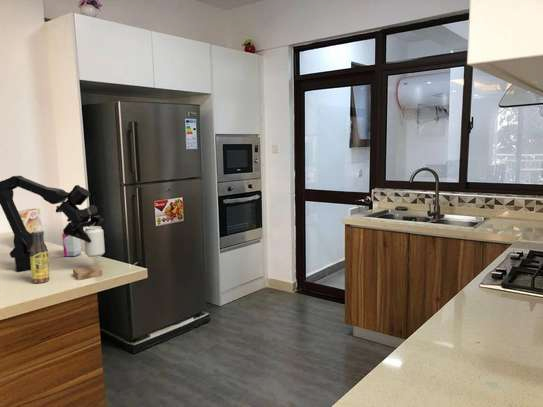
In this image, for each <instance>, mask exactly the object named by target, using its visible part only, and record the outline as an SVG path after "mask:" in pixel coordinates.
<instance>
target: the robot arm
mask: <svg viewBox="0 0 543 407" xmlns="http://www.w3.org/2000/svg"><path fill="white" fill-rule="evenodd" d="M16 188H20V189H23V190H25V191H28V192H30V193H32V194H34V195H37V196H39V197H41V198H42V199H43V200H44V201H45V202H48V203H49V204H51V205H56V204H60V205H56V209H55V213H56V214H57V213H63V214H64V216H65V217H66V218H67V219H66V222H68V223H67V224H66V226H64V228H63V230H62V231H63V233H64V234H65V235H66V236H69V235H70V236H71V237H72V236H73V237H76V238H79V239H80V241H81V240H82V241H83V242H85V241H86V242H89V243H90V242H91V239H90V238H89V236H88V235H87V234H86V233H85V230H84V228H87V227H92V226H100V227H101V223H102V222H103V221H104V218H103V216H102V215H96V214H97V213H98V207H97V206H96V205H94V204H92V205H90V206H88V207H85V208H82V209H80V208H79V207H78V206H82V205H83V204H84V203H85V201H86V200H87V199H88V198H89V197H90V196H91V193H90V192H89V190H88V189H86V188H84V187H82V186H80V185H79V184H76V185H74V186H73V188H72V190H70V191H67V192H66V190H64V189H61V188H58V187H57V188H56V187H52V186H51V187H50V186H47V185H46V186H45V185H44V184H41V183H39V182H36V181H34V180H31V179H28V178H27V177H24V176H22V175H13V176H10V177H8V178H6V179H2V180H0V206H1V210H2V211H3V213H4V215H5V217H6V220H7V222H8V224H9V227H10V229H11V230H12V233H13V240H12V241H13V245H14V248H13V249H11V251H10V253H9V255H10V258H11V259H14V264H15V265H14V269H15V271H16V272H18V273H19V272H25V271H29V270H30V271H31V262H30V249H31V246H32V245H33V236H32V233H29V232H28V231H27V230H26V228H25V226H24V223H23V221H22V219H21V217H20V215H19V212H18V210H19V209H17V207H16V204H15V201H14V190H15V189H16ZM94 215H95V216H94ZM92 216H93V217H92ZM63 233H62V234H63Z"/></svg>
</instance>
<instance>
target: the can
mask: <svg viewBox="0 0 543 407" xmlns="http://www.w3.org/2000/svg"><path fill="white" fill-rule="evenodd" d="M84 228H85V230H84V231H85V233H86V234H87V235H88V236H89V238H90V239H91V242H90V243H89V242H86V241H84V252H85V255H86V256H87V257H89V258H95V257H96V258H97V257H101V256H103V255H104V254H105V252H106V251H105V250H106V248H105V236H104V233H105V232H104V229H102V226H101V225H100V226H92V227H88V226H87V227H84Z"/></svg>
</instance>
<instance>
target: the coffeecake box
mask: <svg viewBox="0 0 543 407" xmlns="http://www.w3.org/2000/svg"><path fill="white" fill-rule="evenodd" d="M18 212H19V215H20V217H21V219H22V221H23V223H24V226H25V228H26V230H27V231H28V232H29V233H32V232H33V231H43V228H42V216H41V215H42V214H41V208H27V209H22V210H19V211H18Z"/></svg>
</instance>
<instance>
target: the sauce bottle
mask: <svg viewBox="0 0 543 407" xmlns="http://www.w3.org/2000/svg"><path fill="white" fill-rule="evenodd" d="M44 235H45V232H44V230H42V231H33V232H32V236H33V245H32V246H31V249H30V262H31V270H30V274H31V277H30V278H31V283H33V284H43V283H47V282H49V281H50V261H49V251H48V248H47V245H46V244H45V240H44Z"/></svg>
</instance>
